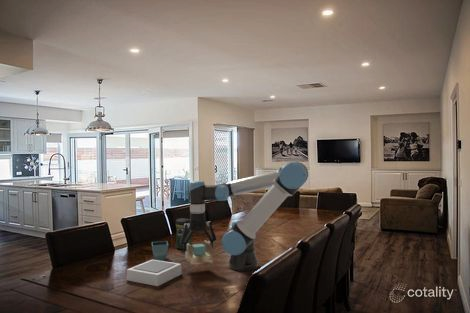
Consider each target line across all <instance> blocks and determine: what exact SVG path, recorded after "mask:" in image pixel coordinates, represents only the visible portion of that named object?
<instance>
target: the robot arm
mask: <svg viewBox="0 0 470 313" xmlns="http://www.w3.org/2000/svg"><path fill="white" fill-rule="evenodd" d="M308 177H309V170H308V168H307V166H306V165H305V164H303V163H302V162H298V161H291V162H288V163H286V164H284V165H283V166H282V167H278V169H277V170H274V171H270V172H265V173H261V174H257V175H252V176H247V177H244V178H240V179H236V180H235V179H234V180H232V181H227V182H223V183H218V184H214V185H213V184H210V185H209V184H208V185H207V184H205V181H202V180H197V181H196V180H195V181H191V182H190V183H189V212H190V213H189V219H190V223H189V224H186V223H185V224H184V230H183V233H182V236H181V239H180V243H181V244H183V247H184V249H183V252H184V253H185V252H186V258H187V259H188V258H189V256H188V244H187V243H188V241H189V240H190V238H191V239H192V236H193V234H195V232H203V233H204V235H205V236H206V238H207V240H208V242H209V243H211V244H212V249H213V248H214V241H217V236H216V233H215V231H214V228H213V225H212V221H210V220H209V221H206V212H205V211H206V201H215V202H216V201H219V202H221V201H225V202H226V201H227V200H228V199H229V197H230V198H231V197H233V196H237V195H241V194H247V193H251V192H256V191H260V190H264V189H265V190H266V189H268V188H269V189H268V190H267V191H266V192H265V193H264V195H263V196H262V197H261V198H260V200H258V202H256V204H255V205H254V206H253V207H252V209H251V210H250V211H249V212H248V213H247V215H245V217H244V218H243V219H242V220H237V221H233V222H232V224H231V228H230V229H229V230H228V231H227V232H225V233H224V234H223V237H222V238H221V245H222V248H223V250H224V251H225V252H226V253H227V254H228V255H230V257H229V261H228V268H229V269H231V270H233V271H240V272H241V271H242V272H243V271H244V272H245V271H253V270H256V269H258V267H259V262H258V258H257V255H256V252H255V239H256V233H257V232H258V231H259V229H260V228H261V227H262V226H263V225H264V224H265V222H266V221H267V220H268V219H269V218H270V217H271V216H272V214H274V212H276V210H277V209H278V208H279V207H280V206H281V205H282V204H283V202H284V201H285V200H286V199H287V198H288V197H293V196H294V195H295V194H296V193H297V191H298V190H299V189H300V188H301V187H303V185H305V183H306V182H307V180H308ZM189 226H190V227H191V229H190V232H189V234H188V235H187V237H186V239H185V236H186V233H187V229H188V228H189ZM206 226H207V227H208V230H209V232H210V234H209V232H208V231H207V229H206V228H205V227H206ZM184 239H185V240H184Z"/></svg>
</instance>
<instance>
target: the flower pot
mask: <svg viewBox="0 0 470 313" xmlns="http://www.w3.org/2000/svg"><path fill="white" fill-rule="evenodd" d="M151 250H152V251H151V252H152V254H153V258H154V260H159V261H165V260H166V259H167V257H168V254H169V243H168V240H163V241H152V242H151Z"/></svg>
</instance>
